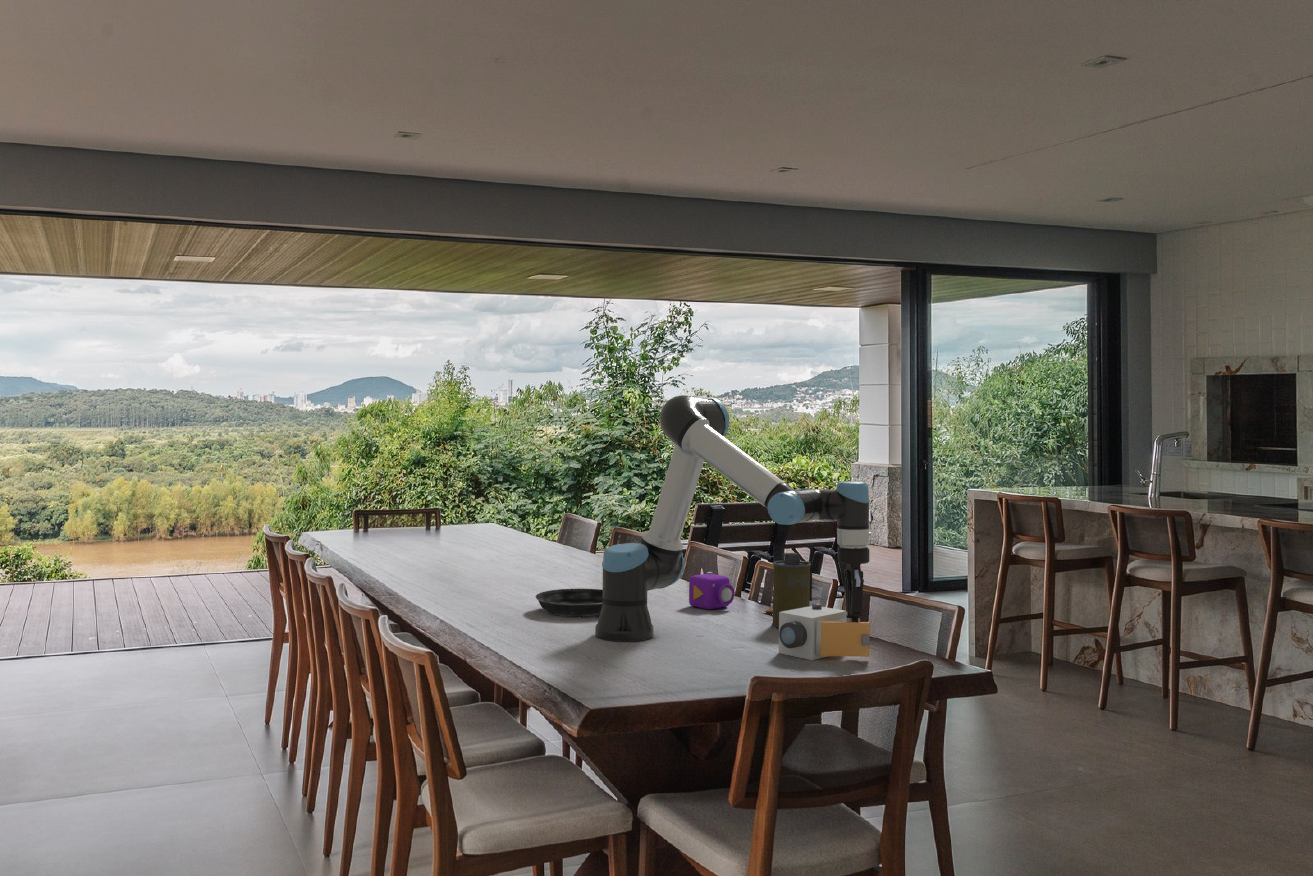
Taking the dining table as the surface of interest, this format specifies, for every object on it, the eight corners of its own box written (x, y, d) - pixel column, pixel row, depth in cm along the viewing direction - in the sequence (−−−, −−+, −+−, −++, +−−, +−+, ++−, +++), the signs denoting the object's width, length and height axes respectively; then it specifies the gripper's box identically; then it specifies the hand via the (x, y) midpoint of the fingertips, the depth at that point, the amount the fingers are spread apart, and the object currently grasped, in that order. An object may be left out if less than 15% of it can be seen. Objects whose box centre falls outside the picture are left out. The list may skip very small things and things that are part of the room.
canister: (780, 630, 286) (781, 556, 286) (765, 623, 296) (767, 551, 296) (817, 628, 289) (819, 555, 289) (801, 621, 299) (803, 550, 299)
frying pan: (576, 624, 291) (576, 600, 291) (517, 612, 309) (517, 588, 308) (683, 605, 323) (683, 583, 323) (624, 595, 340) (624, 573, 340)
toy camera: (722, 613, 311) (722, 579, 311) (684, 607, 319) (684, 574, 319) (742, 608, 319) (742, 574, 319) (704, 602, 328) (705, 570, 328)
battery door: (816, 657, 251) (817, 623, 251) (815, 655, 253) (815, 621, 253) (870, 657, 251) (870, 623, 251) (868, 655, 253) (868, 622, 253)
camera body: (803, 662, 249) (804, 615, 249) (769, 655, 257) (770, 609, 256) (847, 651, 262) (848, 607, 261) (813, 645, 269) (814, 601, 269)
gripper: (874, 549, 249) (875, 650, 249) (864, 543, 262) (864, 639, 262) (842, 549, 249) (842, 650, 249) (833, 543, 262) (834, 639, 262)
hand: (854, 644), depth 256 cm, fingers closed
